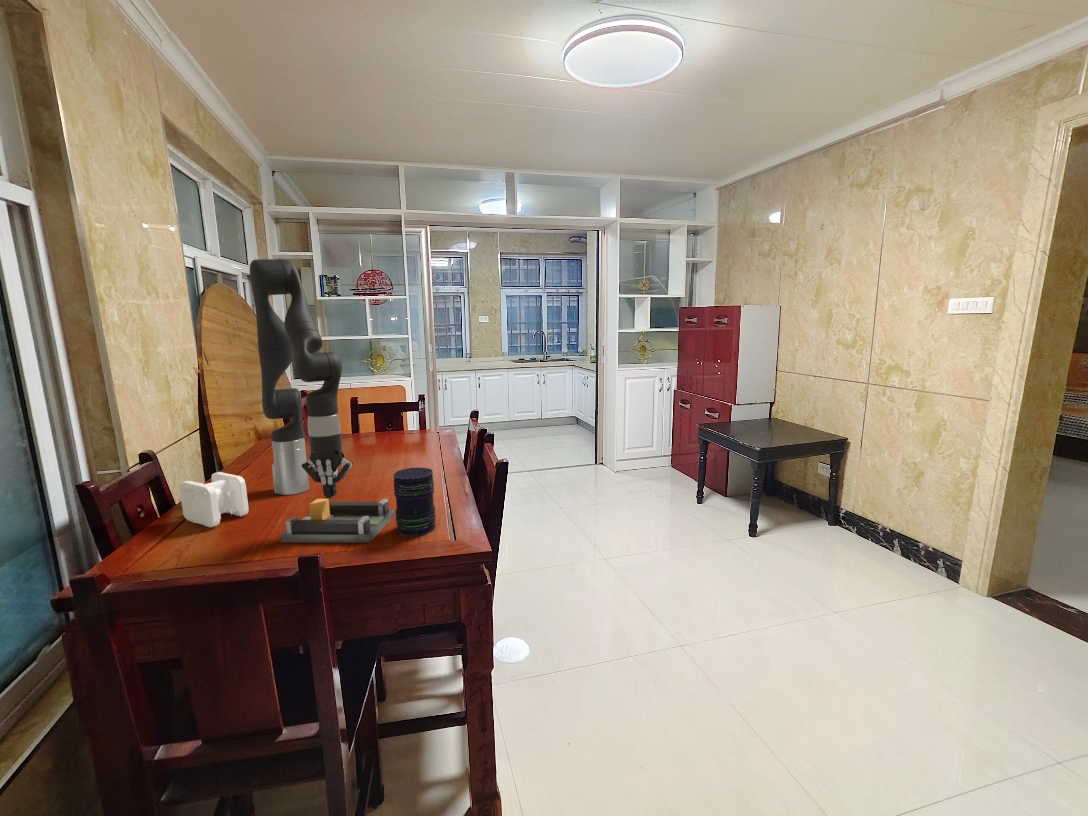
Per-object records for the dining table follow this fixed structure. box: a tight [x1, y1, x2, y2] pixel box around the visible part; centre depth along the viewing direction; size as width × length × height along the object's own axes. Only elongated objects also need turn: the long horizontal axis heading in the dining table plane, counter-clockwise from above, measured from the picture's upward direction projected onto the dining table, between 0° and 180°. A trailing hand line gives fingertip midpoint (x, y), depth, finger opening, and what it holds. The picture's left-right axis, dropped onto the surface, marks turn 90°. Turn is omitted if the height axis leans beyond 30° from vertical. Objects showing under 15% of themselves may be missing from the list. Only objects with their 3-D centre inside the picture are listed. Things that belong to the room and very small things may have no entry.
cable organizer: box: [178, 471, 249, 528], centre depth 133 cm, size 15×11×12 cm
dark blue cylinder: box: [393, 467, 437, 537], centre depth 124 cm, size 10×10×15 cm
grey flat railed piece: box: [280, 498, 395, 544], centre depth 125 cm, size 22×17×5 cm
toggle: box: [309, 498, 333, 520], centre depth 125 cm, size 4×4×5 cm
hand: (330, 497), depth 125 cm, fingers closed
